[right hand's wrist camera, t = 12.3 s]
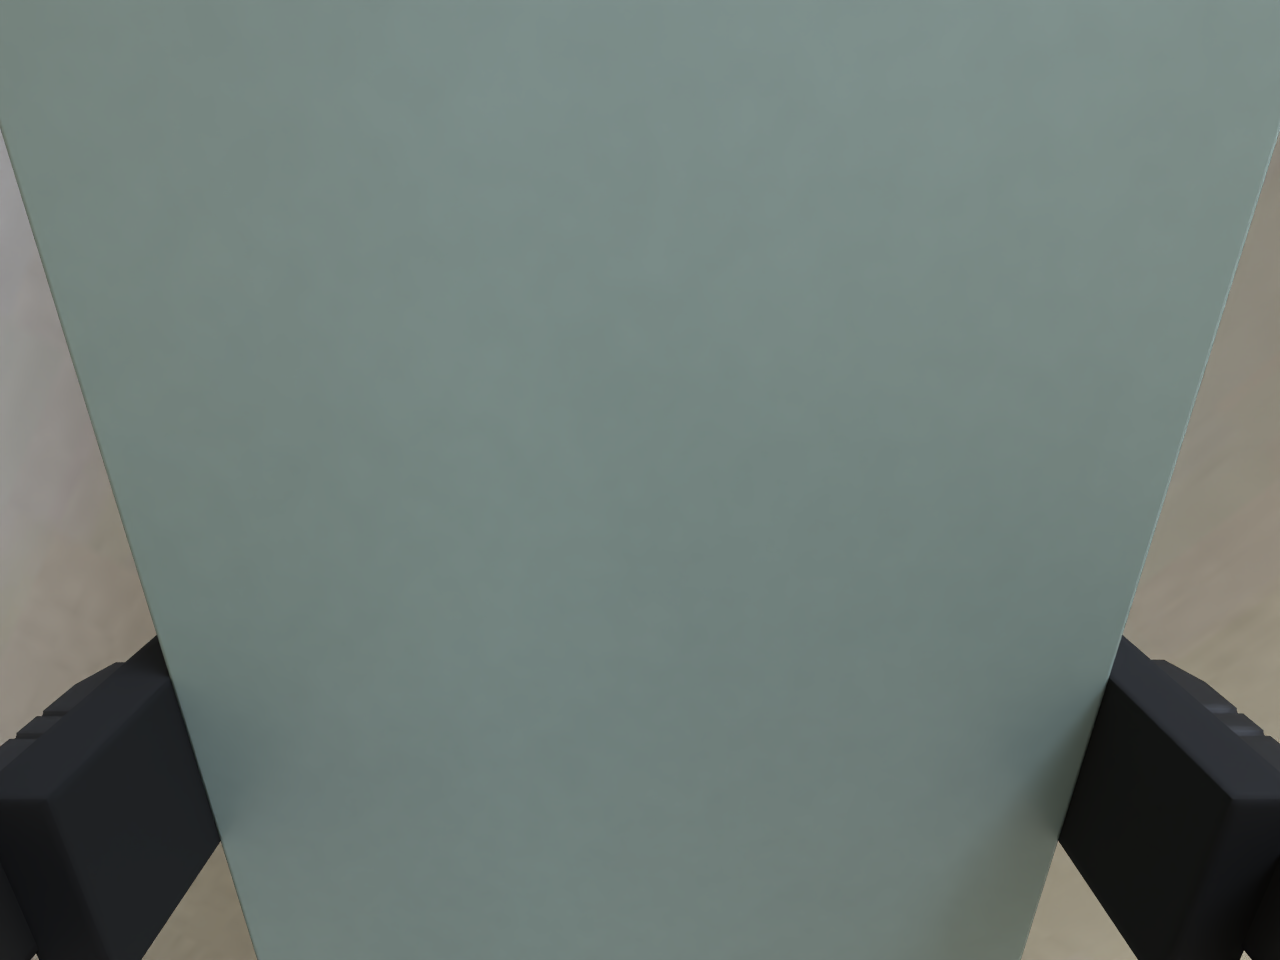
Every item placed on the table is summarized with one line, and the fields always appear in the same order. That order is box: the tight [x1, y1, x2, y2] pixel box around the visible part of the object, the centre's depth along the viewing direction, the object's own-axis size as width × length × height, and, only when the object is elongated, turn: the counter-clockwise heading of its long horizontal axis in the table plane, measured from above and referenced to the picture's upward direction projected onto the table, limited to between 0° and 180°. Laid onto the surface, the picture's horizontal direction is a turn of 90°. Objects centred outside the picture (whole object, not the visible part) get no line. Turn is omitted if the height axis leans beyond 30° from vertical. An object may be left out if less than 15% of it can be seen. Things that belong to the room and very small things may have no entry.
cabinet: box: [0, 0, 1280, 960], centre depth 13 cm, size 16×11×11 cm
